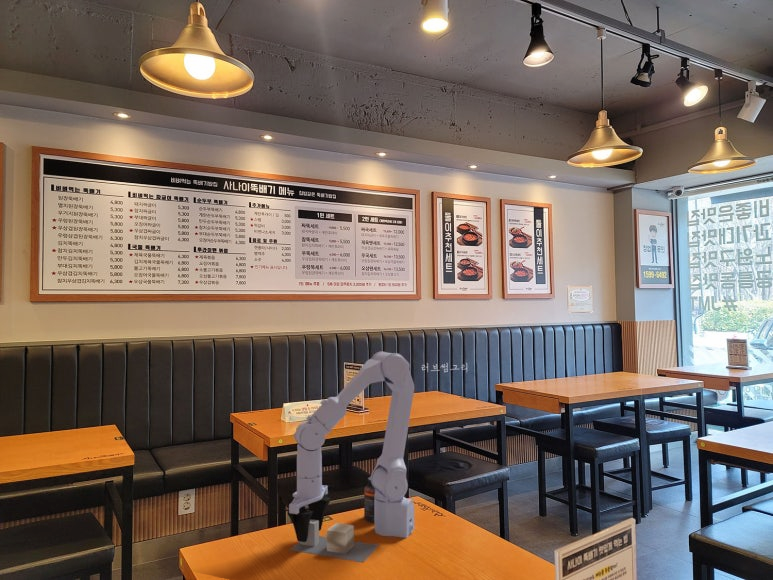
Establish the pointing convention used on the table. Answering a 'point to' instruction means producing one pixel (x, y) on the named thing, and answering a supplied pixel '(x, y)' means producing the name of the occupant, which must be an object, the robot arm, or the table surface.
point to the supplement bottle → (369, 502)
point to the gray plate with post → (319, 546)
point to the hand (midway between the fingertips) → (309, 535)
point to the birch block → (340, 538)
